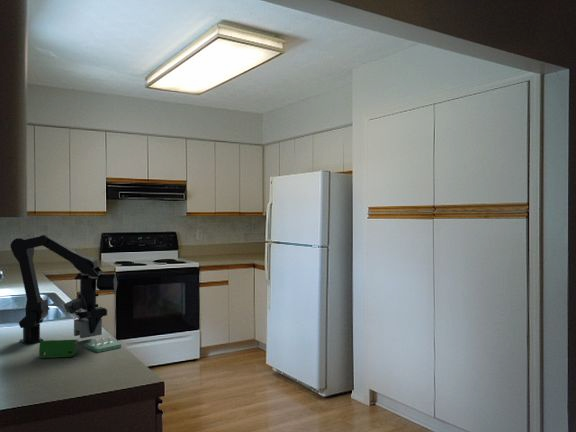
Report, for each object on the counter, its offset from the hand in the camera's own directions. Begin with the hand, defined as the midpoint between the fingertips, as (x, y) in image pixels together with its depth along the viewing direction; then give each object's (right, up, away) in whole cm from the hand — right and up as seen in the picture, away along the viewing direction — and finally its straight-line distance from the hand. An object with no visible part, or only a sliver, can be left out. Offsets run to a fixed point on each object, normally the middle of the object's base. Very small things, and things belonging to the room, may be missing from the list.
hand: (87, 331), depth 190 cm
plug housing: (0, -1, 0) cm, 1 cm away
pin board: (+8, -4, -8) cm, 12 cm away
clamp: (-3, -4, -18) cm, 19 cm away
